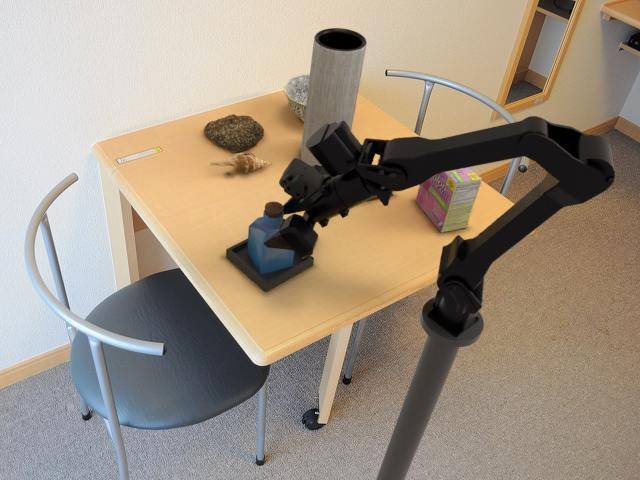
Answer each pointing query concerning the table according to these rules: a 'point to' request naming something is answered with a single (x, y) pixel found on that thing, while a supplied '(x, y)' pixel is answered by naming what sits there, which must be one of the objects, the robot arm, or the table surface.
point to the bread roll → (234, 132)
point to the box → (449, 198)
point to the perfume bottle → (260, 232)
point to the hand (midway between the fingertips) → (272, 228)
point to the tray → (267, 280)
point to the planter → (332, 82)
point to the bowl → (297, 94)
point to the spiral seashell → (242, 162)
